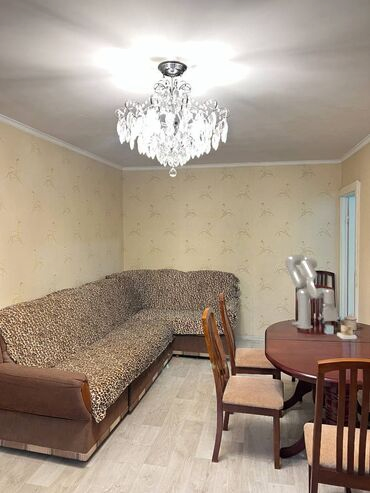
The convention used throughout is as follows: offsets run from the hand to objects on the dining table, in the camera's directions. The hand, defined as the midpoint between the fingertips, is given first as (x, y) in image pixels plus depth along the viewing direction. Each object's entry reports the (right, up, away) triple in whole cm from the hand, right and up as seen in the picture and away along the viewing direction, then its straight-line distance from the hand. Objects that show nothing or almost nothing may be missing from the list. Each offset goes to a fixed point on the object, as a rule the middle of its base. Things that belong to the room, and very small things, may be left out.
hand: (330, 328), depth 276 cm
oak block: (+8, -2, -11) cm, 13 cm away
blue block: (0, -4, +1) cm, 4 cm away
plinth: (+8, -4, -11) cm, 14 cm away
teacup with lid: (+19, -4, +12) cm, 23 cm away
